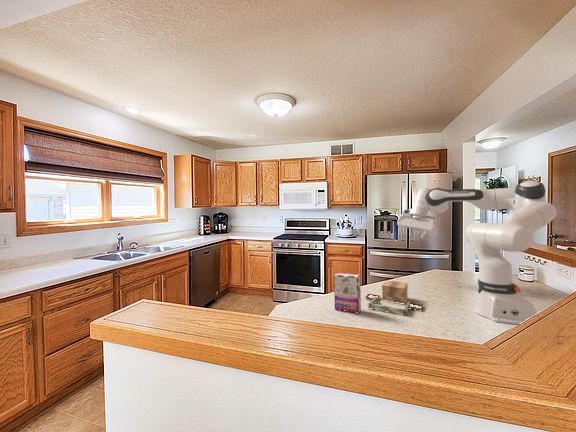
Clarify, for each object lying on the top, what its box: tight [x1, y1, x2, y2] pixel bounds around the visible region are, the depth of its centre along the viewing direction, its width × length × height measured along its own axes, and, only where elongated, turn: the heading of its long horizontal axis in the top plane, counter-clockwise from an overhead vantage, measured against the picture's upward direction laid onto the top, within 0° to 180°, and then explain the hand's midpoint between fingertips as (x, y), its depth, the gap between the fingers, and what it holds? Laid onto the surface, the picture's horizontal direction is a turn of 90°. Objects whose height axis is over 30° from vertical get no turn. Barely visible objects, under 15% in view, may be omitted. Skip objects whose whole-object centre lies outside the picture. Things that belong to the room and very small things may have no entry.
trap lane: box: [364, 293, 424, 316], centre depth 128 cm, size 26×18×2 cm
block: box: [381, 279, 409, 303], centre depth 136 cm, size 10×10×8 cm
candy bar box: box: [333, 272, 362, 314], centre depth 124 cm, size 11×5×16 cm, turn 62°
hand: (412, 236), depth 158 cm, fingers open, 8 cm apart
